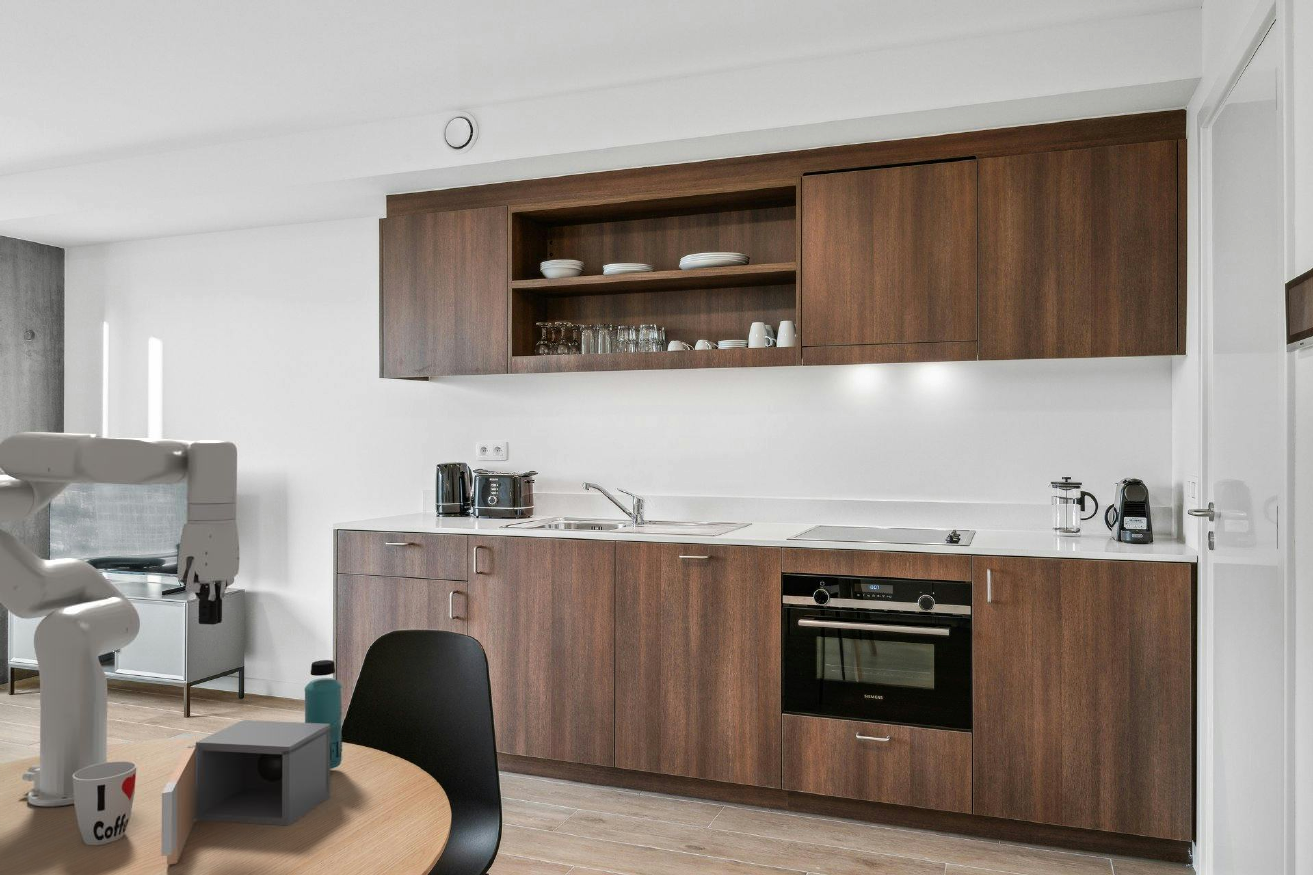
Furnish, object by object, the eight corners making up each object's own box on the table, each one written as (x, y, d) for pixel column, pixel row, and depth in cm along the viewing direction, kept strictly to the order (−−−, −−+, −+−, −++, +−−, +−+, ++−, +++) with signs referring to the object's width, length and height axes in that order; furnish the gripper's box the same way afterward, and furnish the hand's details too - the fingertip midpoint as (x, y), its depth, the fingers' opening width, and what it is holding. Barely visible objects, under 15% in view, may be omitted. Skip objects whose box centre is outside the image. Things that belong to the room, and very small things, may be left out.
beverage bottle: (329, 780, 155) (329, 666, 155) (295, 778, 156) (295, 664, 156) (349, 768, 161) (349, 657, 162) (316, 765, 162) (317, 656, 163)
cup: (89, 854, 126) (89, 783, 126) (61, 841, 130) (61, 773, 131) (146, 833, 133) (147, 766, 133) (118, 822, 137) (119, 757, 138)
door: (187, 818, 138) (188, 745, 138) (196, 817, 138) (196, 744, 138) (161, 877, 118) (161, 792, 118) (171, 875, 118) (171, 791, 119)
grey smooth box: (195, 819, 138) (195, 742, 139) (242, 790, 150) (243, 719, 150) (289, 825, 136) (289, 746, 136) (330, 796, 148) (330, 723, 148)
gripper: (220, 511, 157) (219, 615, 156) (159, 516, 142) (158, 631, 141) (259, 511, 155) (257, 616, 155) (201, 517, 141) (200, 632, 140)
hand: (210, 623), depth 148 cm, fingers closed
